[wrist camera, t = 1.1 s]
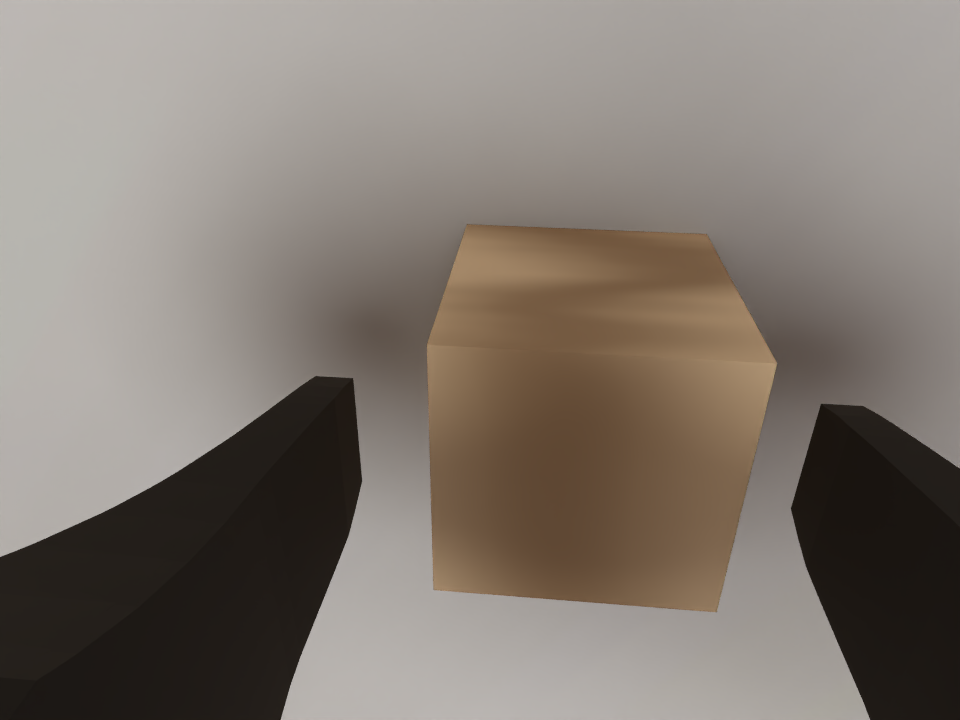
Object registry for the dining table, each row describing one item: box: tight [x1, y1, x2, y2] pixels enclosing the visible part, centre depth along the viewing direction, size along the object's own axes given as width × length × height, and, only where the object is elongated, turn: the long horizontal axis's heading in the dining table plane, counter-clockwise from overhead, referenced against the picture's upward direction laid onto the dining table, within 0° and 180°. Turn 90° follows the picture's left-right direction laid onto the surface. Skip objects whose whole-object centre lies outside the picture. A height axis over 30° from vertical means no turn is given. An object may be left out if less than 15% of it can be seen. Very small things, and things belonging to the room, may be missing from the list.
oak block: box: [427, 224, 777, 612], centre depth 13 cm, size 4×4×5 cm
